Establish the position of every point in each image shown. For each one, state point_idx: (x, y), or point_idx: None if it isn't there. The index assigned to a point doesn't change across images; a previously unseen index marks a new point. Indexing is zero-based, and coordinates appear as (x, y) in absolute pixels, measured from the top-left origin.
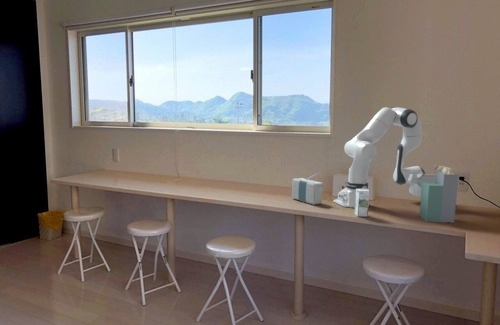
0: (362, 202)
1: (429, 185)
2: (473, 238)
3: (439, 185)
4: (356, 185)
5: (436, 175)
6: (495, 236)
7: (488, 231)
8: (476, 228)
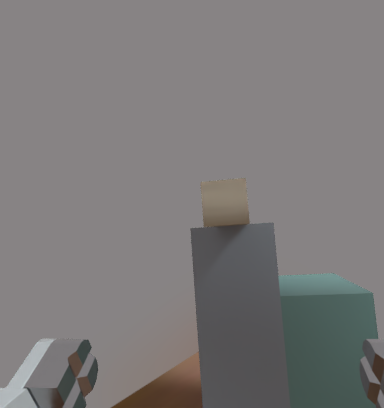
0: None
1: (331, 274)
2: None
3: (283, 276)
4: None
5: (275, 248)
6: (178, 364)
7: (163, 386)
8: (178, 402)
